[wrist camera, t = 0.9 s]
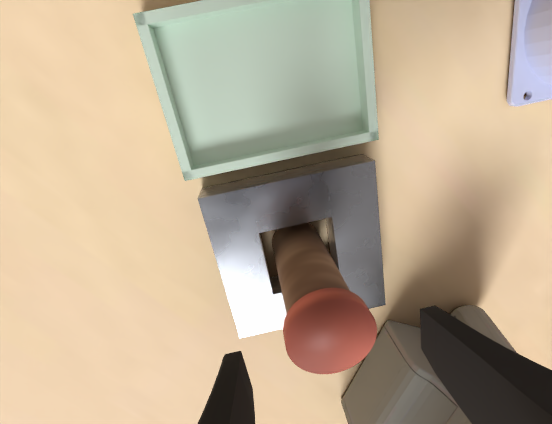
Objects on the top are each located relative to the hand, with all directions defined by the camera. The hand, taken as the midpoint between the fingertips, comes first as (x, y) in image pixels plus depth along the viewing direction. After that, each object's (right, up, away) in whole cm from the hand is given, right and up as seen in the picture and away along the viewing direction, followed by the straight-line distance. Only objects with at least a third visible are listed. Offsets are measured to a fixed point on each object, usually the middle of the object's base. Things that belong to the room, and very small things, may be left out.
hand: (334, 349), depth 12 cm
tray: (-3, +12, +5) cm, 14 cm away
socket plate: (-1, +3, +9) cm, 9 cm away
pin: (-1, +3, +9) cm, 9 cm away
